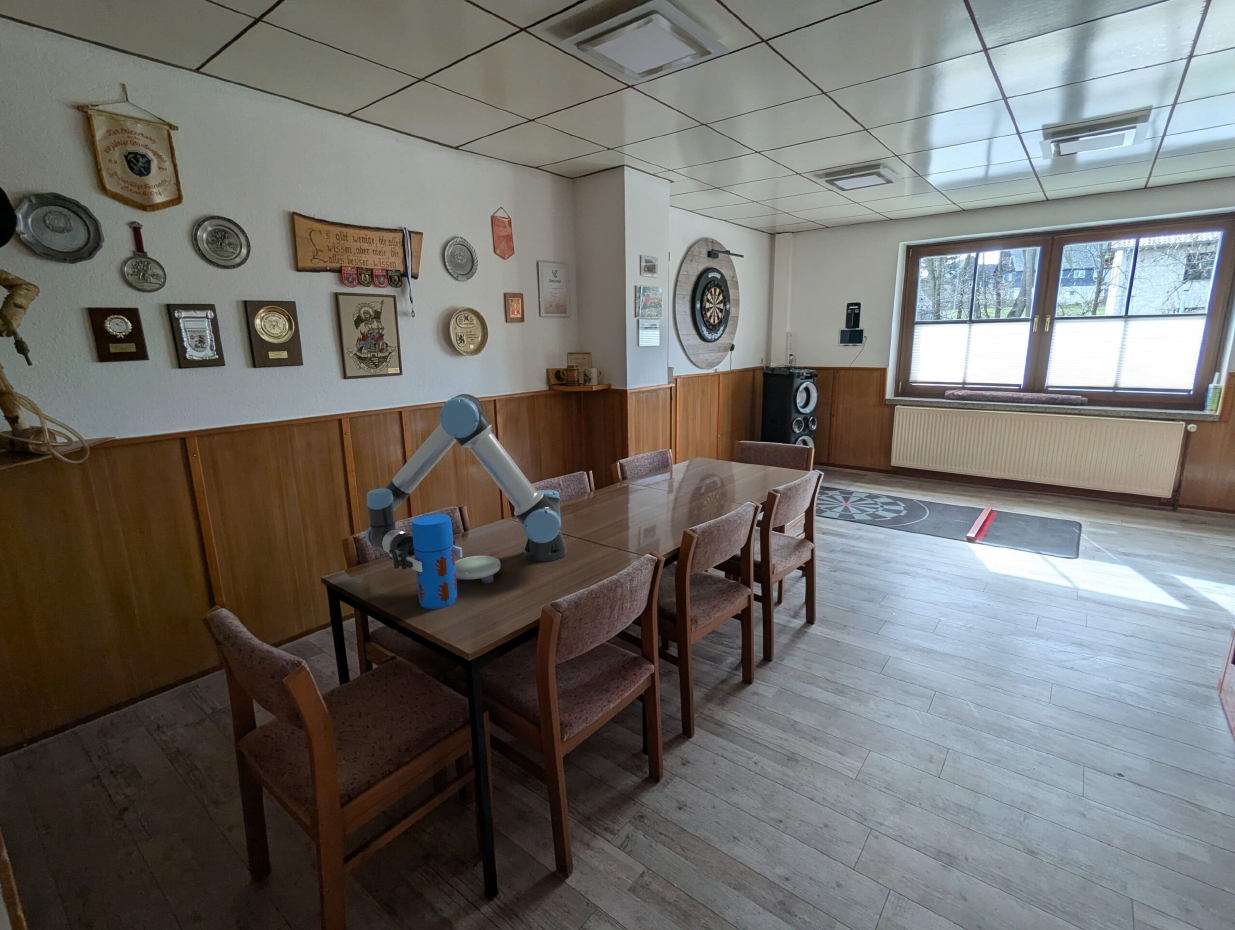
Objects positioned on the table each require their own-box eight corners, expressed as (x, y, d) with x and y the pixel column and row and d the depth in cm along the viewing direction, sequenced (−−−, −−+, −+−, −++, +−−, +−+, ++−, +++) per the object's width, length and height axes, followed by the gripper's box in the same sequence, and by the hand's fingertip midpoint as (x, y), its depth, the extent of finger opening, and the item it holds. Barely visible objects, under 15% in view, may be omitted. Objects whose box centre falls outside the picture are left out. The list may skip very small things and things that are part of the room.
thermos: (461, 592, 173) (455, 513, 168) (452, 608, 163) (445, 524, 158) (425, 593, 173) (417, 514, 168) (414, 609, 163) (405, 525, 157)
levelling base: (441, 585, 178) (440, 573, 177) (462, 565, 194) (461, 554, 193) (490, 588, 176) (489, 575, 175) (507, 567, 191) (507, 556, 190)
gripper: (436, 544, 186) (477, 559, 173) (363, 568, 168) (403, 586, 155) (434, 522, 185) (476, 535, 172) (360, 544, 166) (400, 560, 153)
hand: (441, 559), depth 163 cm, fingers open, 13 cm apart
